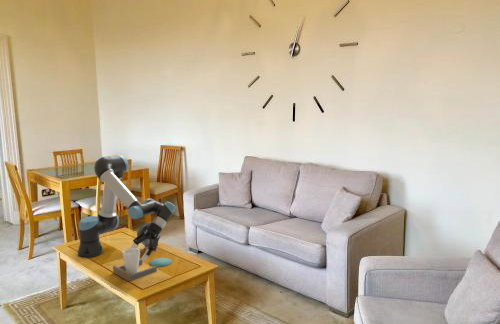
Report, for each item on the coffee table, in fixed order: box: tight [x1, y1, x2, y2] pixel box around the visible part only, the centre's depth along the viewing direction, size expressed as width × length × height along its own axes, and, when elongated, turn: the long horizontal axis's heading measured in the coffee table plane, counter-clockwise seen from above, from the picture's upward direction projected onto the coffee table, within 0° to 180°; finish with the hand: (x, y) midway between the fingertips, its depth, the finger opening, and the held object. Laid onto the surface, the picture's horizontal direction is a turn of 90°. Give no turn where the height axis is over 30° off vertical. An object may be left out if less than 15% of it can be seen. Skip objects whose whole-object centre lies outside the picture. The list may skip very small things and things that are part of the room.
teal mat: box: [149, 257, 173, 268], centre depth 230 cm, size 13×13×1 cm
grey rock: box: [136, 222, 159, 252], centre depth 252 cm, size 14×15×18 cm
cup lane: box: [112, 258, 158, 282], centre depth 217 cm, size 16×18×4 cm
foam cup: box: [122, 247, 141, 275], centre depth 215 cm, size 10×9×13 cm
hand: (136, 257), depth 215 cm, fingers open, 13 cm apart
